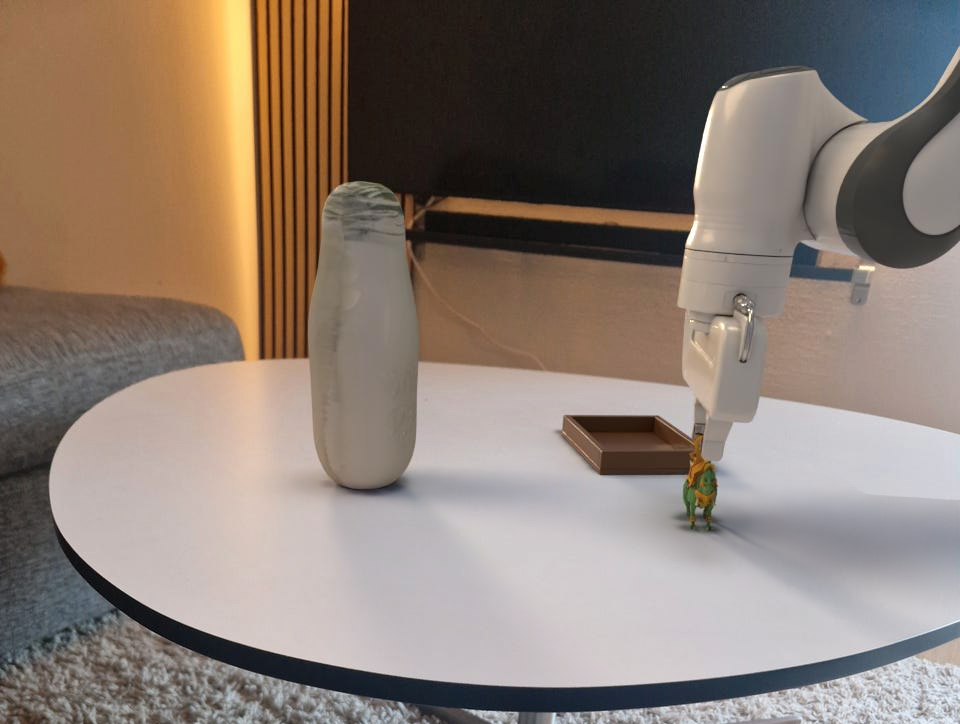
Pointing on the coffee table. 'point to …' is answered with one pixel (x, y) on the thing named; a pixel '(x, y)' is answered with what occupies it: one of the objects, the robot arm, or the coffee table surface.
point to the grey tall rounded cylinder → (363, 340)
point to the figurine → (700, 487)
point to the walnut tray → (629, 443)
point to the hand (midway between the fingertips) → (705, 450)
